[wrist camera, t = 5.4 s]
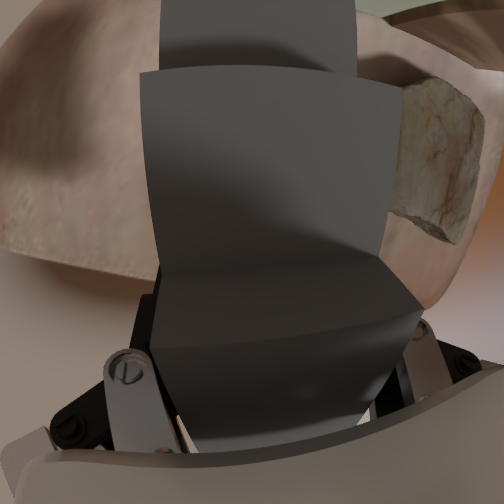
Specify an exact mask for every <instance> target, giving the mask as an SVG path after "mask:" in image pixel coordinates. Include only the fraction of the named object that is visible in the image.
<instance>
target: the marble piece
mask: <svg viewBox="0 0 504 504" xmlns="http://www.w3.org/2000/svg"><path fill="white" fill-rule="evenodd" d="M398 87H400V88H403V90H402V111H401V125H400V136H399V146H398V155H397V162H396V170H395V177H394V183H393V189H392V195H391V201H390V206H389V212H393V213H394V214H395V215H397V216H400V217H404V218H407V219H409V220H410V221H412V222H413V223H414V224H415V225H416V226H418V227H420V228H421V229H422V230H424V231H425V232H426V233H427V234H429V235H431V236H433V237H435V238H437V239H439V240H441V241H443V242H447V243H451V244H452V245H458V244H459V242H460V241H461V238H462V236H463V233H464V231H465V228H466V225H467V222H468V218H469V215H470V212H471V207H472V203H473V199H474V196H475V192H476V187H477V180H478V175H479V171H480V164H479V160H480V156H481V151H482V146H483V140H484V127H485V120H484V117H483V115H482V114H481V112H480V110H479V109H478V108H477V106H476V105H475V104H474V103H473V102H472V101H471V99H470V98H469V97H467V96H466V95H463V94H462V93H461V92H460V91H458V90H457V89H456V88H454V87H453V86H452V85H451V84H449V83H448V82H446V81H444V80H442V79H440V78H438V77H426V78H423V79H421V80H420V81H418V82H415V83H413V84H410V85H405V86H398Z"/></svg>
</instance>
